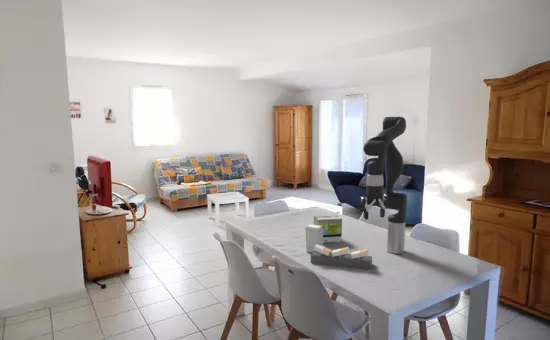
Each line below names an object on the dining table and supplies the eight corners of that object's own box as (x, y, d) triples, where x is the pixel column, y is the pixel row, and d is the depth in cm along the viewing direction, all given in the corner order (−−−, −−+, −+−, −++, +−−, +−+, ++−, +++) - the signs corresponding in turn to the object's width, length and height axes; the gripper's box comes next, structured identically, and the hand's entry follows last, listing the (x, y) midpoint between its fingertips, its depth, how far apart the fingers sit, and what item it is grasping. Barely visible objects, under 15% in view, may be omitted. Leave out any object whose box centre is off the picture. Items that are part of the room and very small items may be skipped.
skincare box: (323, 251, 212) (323, 225, 210) (318, 254, 207) (318, 228, 205) (310, 248, 216) (310, 223, 215) (305, 251, 212) (305, 225, 210)
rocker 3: (353, 255, 192) (351, 251, 192) (368, 252, 189) (367, 248, 189) (352, 258, 188) (350, 254, 188) (367, 255, 185) (366, 251, 185)
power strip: (314, 257, 203) (314, 247, 202) (371, 263, 193) (372, 253, 192) (310, 262, 195) (310, 252, 194) (370, 269, 185) (370, 259, 185)
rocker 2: (334, 253, 195) (333, 249, 195) (349, 250, 192) (348, 246, 192) (333, 256, 191) (331, 252, 191) (348, 253, 188) (347, 249, 188)
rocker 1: (315, 247, 198) (316, 243, 197) (329, 253, 195) (331, 249, 195) (313, 249, 194) (314, 246, 193) (328, 256, 192) (329, 252, 191)
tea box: (318, 244, 225) (318, 219, 223) (313, 239, 235) (313, 215, 233) (341, 242, 228) (342, 218, 226) (335, 237, 238) (336, 214, 236)
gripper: (383, 181, 180) (382, 214, 182) (357, 183, 175) (356, 217, 177) (392, 184, 173) (392, 218, 175) (366, 186, 168) (365, 221, 170)
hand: (374, 218), depth 176 cm, fingers open, 8 cm apart
